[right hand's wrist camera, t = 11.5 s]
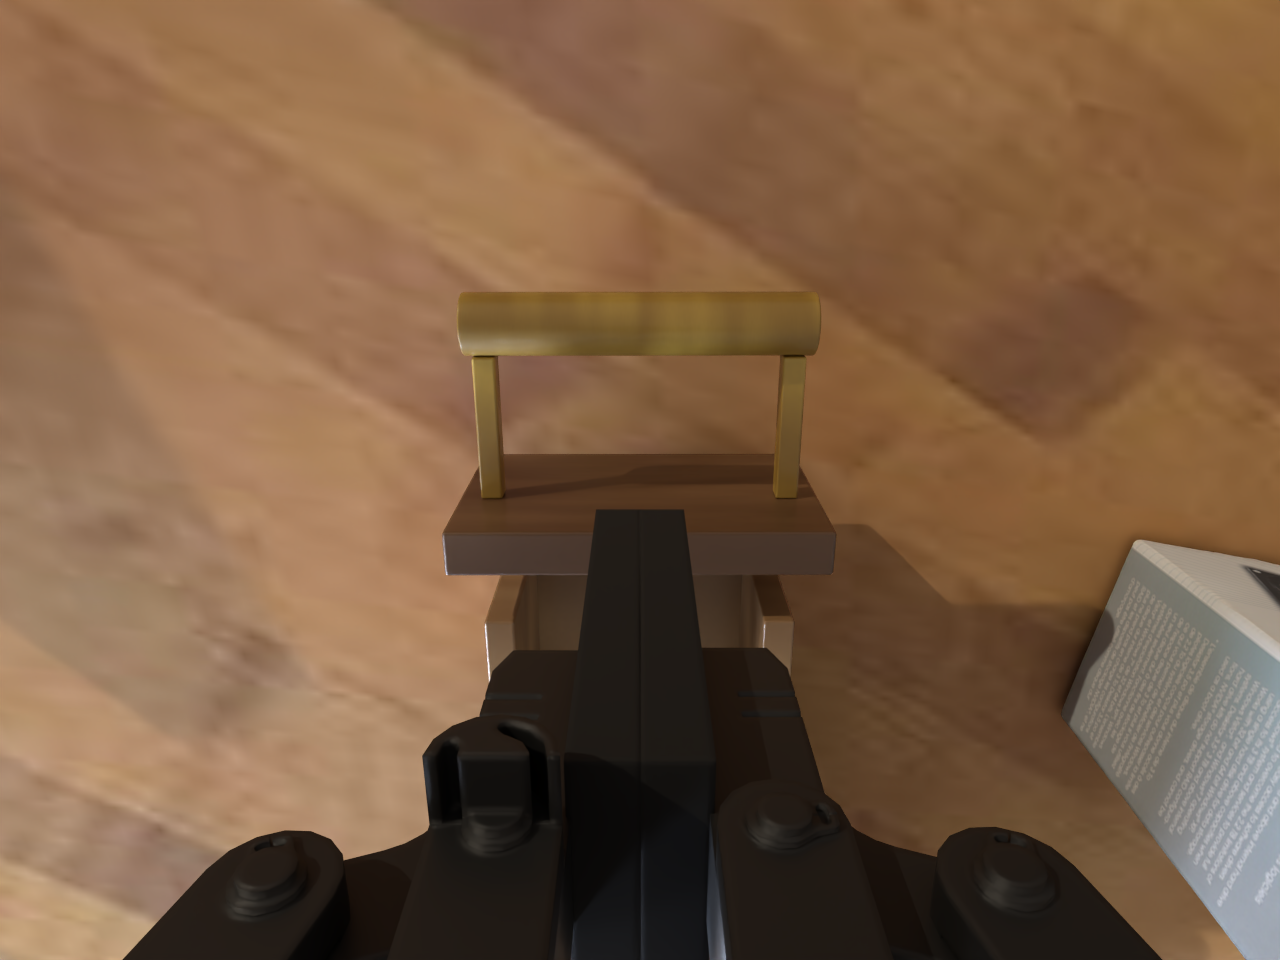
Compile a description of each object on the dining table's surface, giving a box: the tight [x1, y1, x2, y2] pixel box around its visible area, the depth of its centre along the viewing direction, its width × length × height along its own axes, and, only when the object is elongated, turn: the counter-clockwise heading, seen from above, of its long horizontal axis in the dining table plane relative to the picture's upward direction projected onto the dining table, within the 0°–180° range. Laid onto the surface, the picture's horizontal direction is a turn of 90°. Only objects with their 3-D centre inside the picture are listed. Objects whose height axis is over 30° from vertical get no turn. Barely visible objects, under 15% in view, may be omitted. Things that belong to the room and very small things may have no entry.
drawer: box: [442, 292, 836, 681], centre depth 26 cm, size 23×10×6 cm, turn 0°
